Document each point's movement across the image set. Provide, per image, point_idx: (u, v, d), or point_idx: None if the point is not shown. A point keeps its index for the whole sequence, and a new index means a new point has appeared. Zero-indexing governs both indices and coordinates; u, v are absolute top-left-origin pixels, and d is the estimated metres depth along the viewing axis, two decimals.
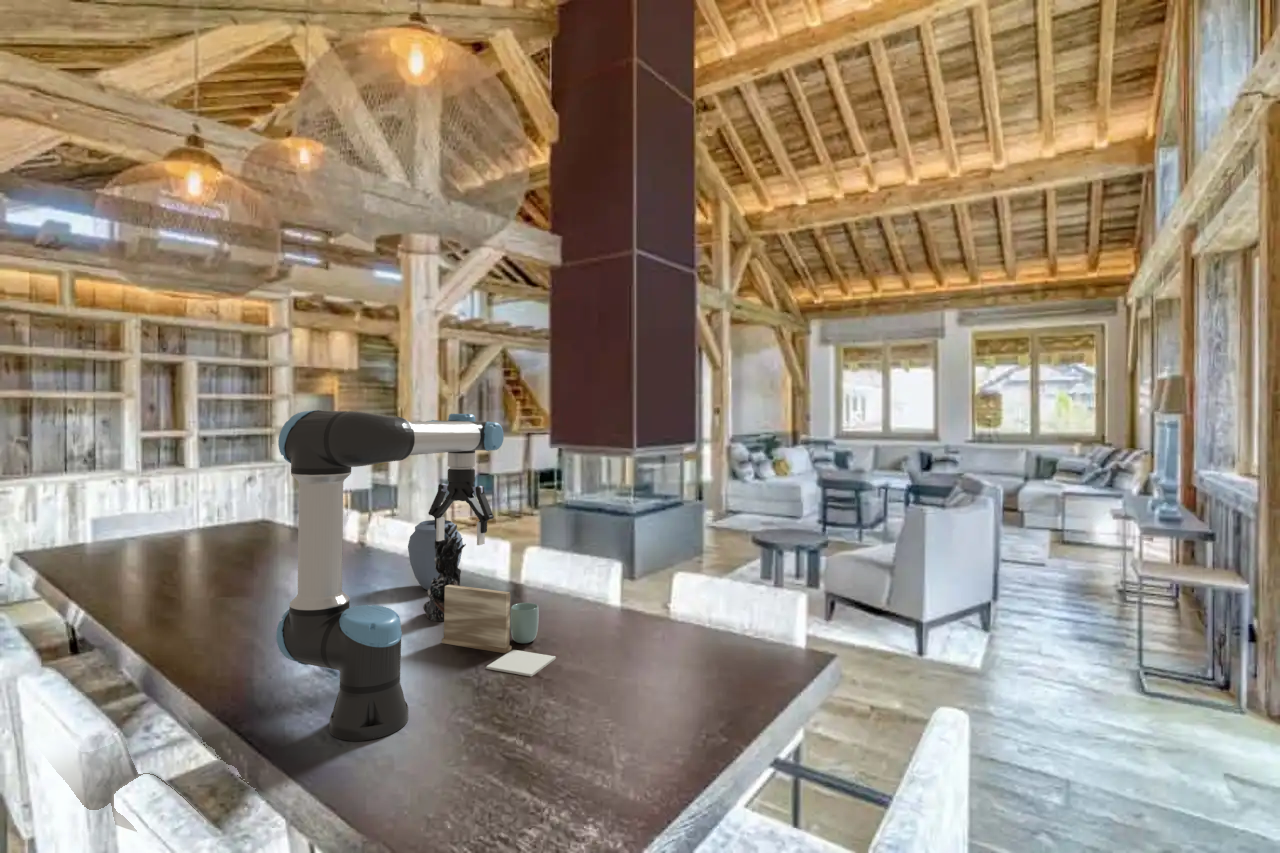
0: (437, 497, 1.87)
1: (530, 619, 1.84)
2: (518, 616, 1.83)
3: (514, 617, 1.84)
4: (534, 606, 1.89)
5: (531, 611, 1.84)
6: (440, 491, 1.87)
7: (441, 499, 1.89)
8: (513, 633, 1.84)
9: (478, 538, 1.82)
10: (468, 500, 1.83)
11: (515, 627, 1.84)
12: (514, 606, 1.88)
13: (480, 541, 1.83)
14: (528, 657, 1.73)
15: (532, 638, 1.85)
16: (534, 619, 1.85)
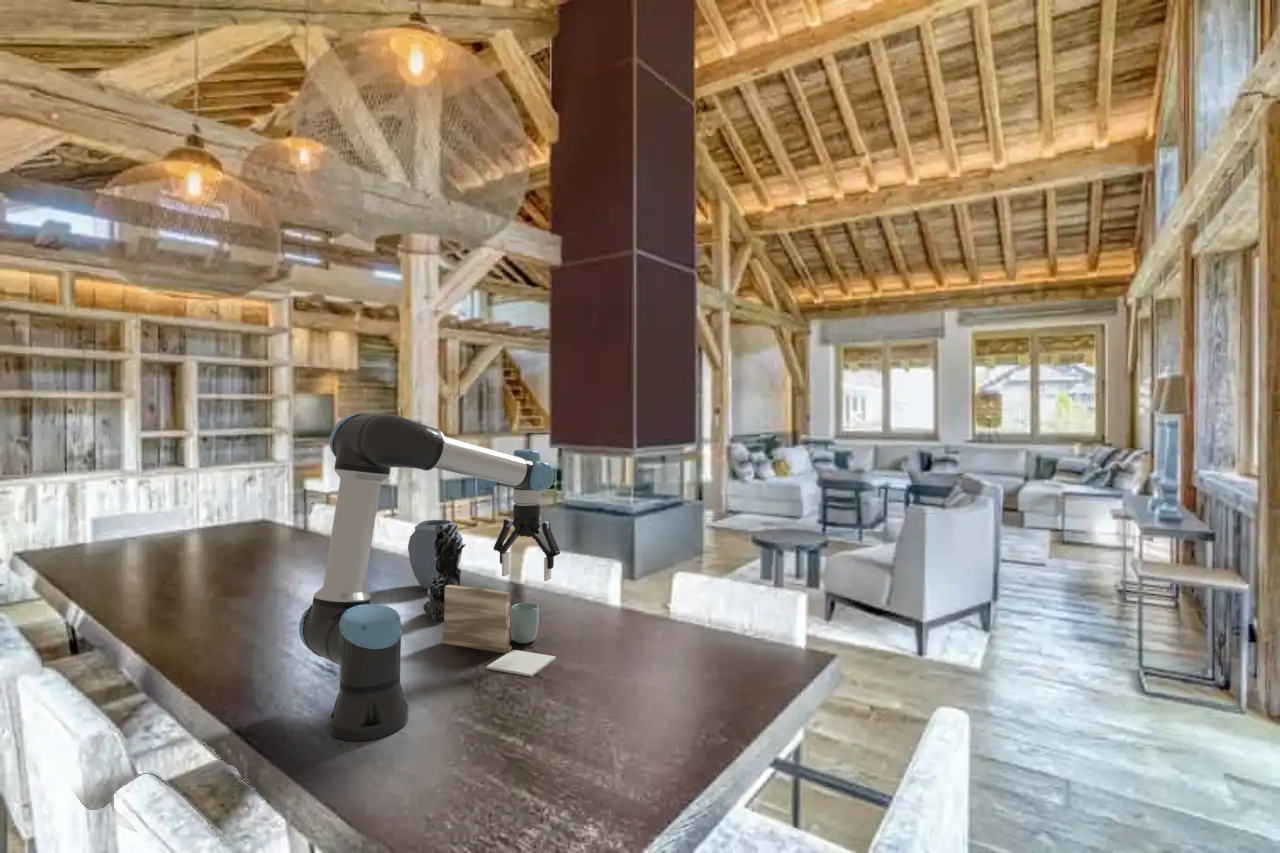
0: (502, 532, 1.88)
1: (530, 619, 1.84)
2: (518, 616, 1.83)
3: (513, 617, 1.84)
4: (534, 606, 1.89)
5: (531, 611, 1.84)
6: (505, 527, 1.88)
7: (506, 534, 1.89)
8: (513, 633, 1.84)
9: (545, 574, 1.83)
10: (534, 536, 1.84)
11: (515, 627, 1.84)
12: (514, 606, 1.88)
13: (547, 577, 1.84)
14: (528, 657, 1.73)
15: (532, 638, 1.85)
16: (534, 620, 1.85)
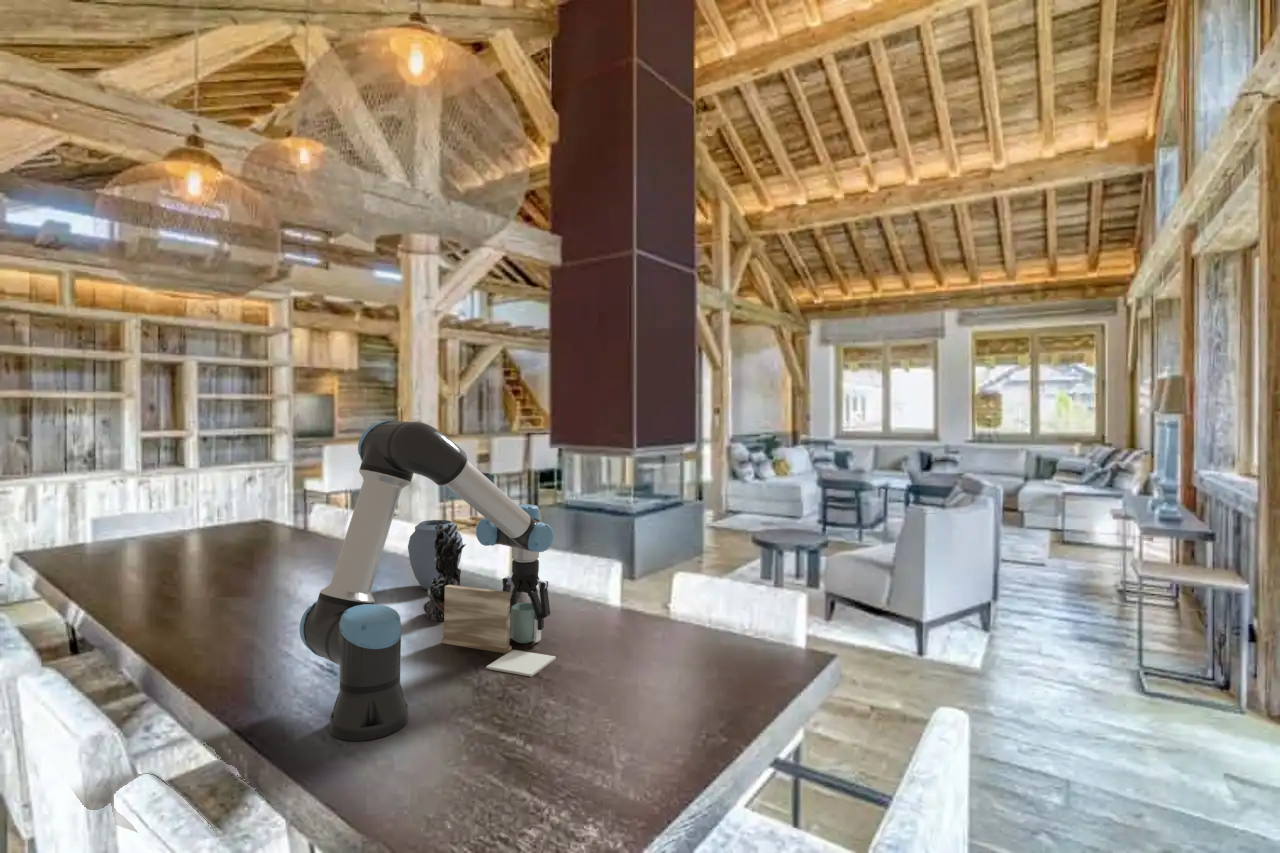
0: None
1: (530, 619, 1.84)
2: (518, 616, 1.83)
3: (514, 617, 1.84)
4: None
5: (531, 611, 1.84)
6: (505, 585, 1.88)
7: None
8: (513, 633, 1.84)
9: (535, 635, 1.84)
10: (530, 594, 1.84)
11: (515, 627, 1.84)
12: (514, 606, 1.88)
13: (537, 638, 1.85)
14: (528, 657, 1.73)
15: (532, 638, 1.85)
16: None
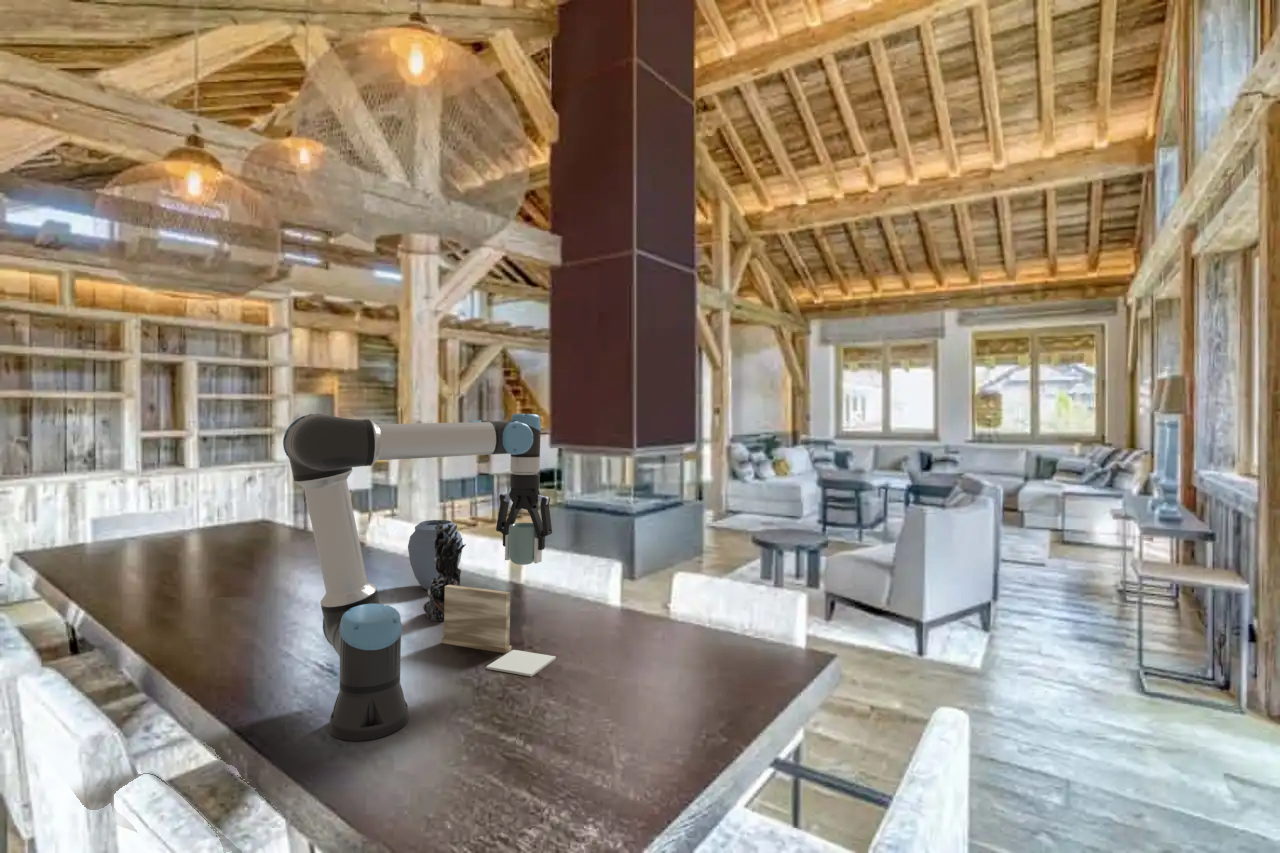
0: (501, 509, 1.71)
1: (530, 537, 1.67)
2: (517, 533, 1.66)
3: (512, 536, 1.67)
4: None
5: (531, 528, 1.67)
6: (503, 502, 1.71)
7: (506, 511, 1.72)
8: (511, 553, 1.67)
9: (535, 555, 1.67)
10: (530, 511, 1.67)
11: (513, 546, 1.67)
12: (512, 525, 1.71)
13: (537, 559, 1.68)
14: (528, 657, 1.73)
15: (532, 559, 1.68)
16: None
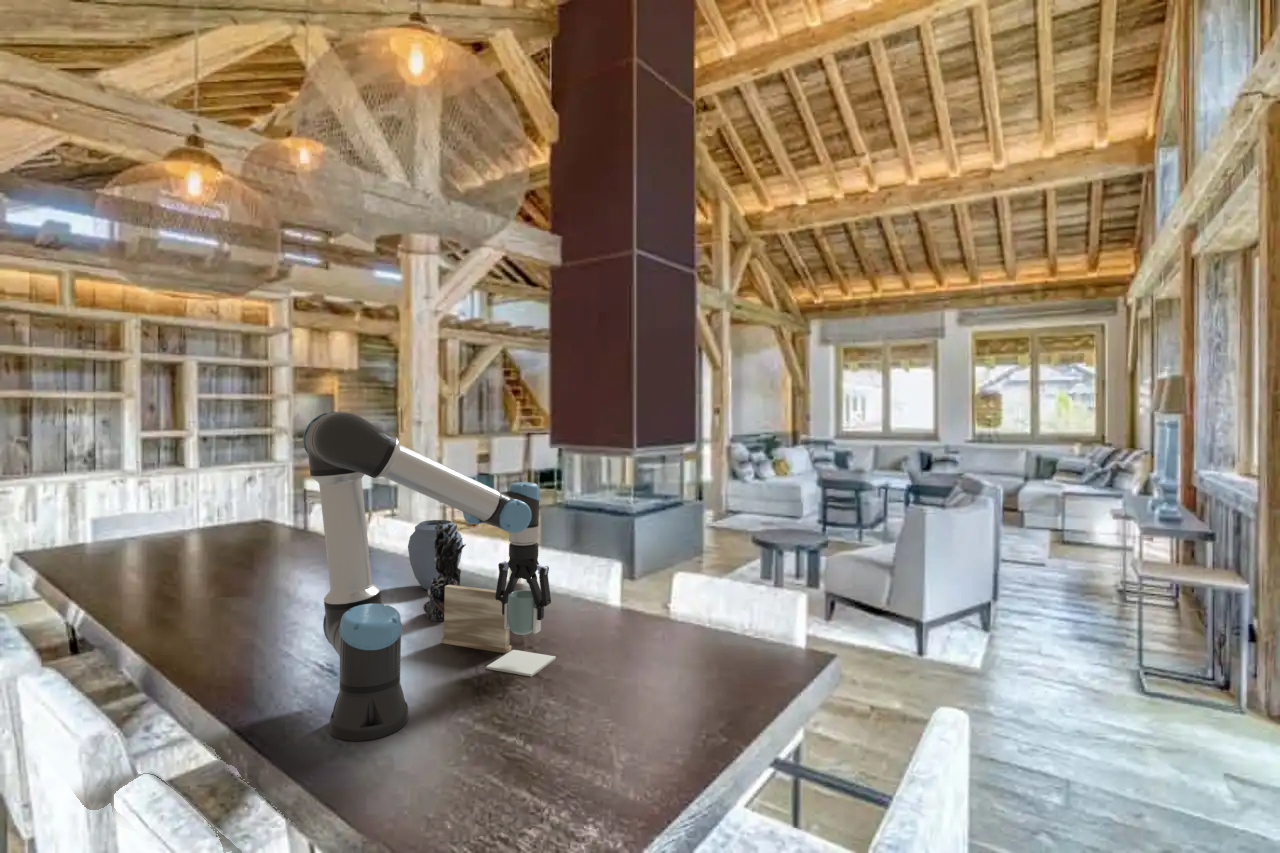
0: (500, 578, 1.71)
1: (529, 607, 1.67)
2: (516, 604, 1.66)
3: (511, 606, 1.67)
4: None
5: (530, 599, 1.67)
6: (502, 571, 1.71)
7: (505, 579, 1.72)
8: (510, 623, 1.67)
9: (534, 626, 1.67)
10: (529, 581, 1.67)
11: (512, 616, 1.67)
12: (511, 594, 1.71)
13: (536, 629, 1.68)
14: (528, 657, 1.73)
15: (531, 629, 1.68)
16: None
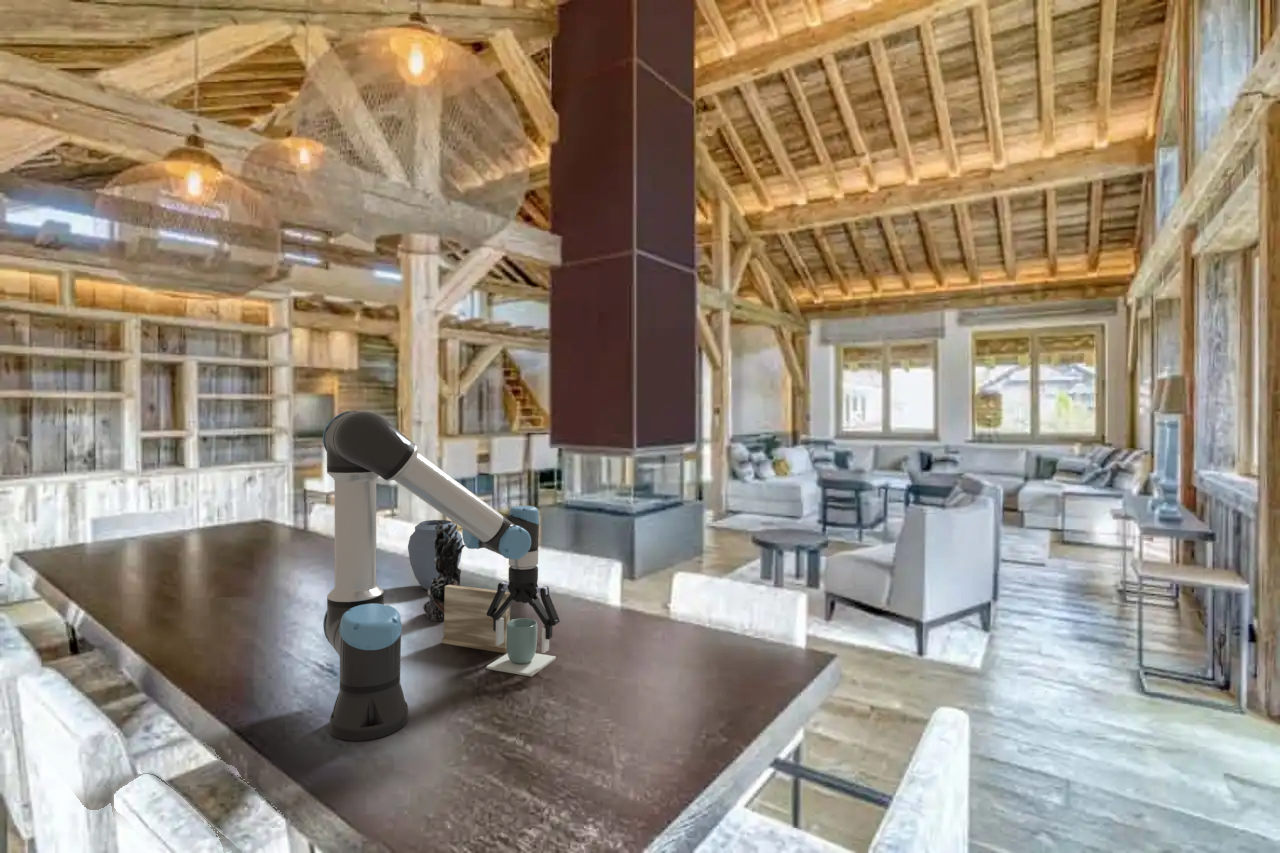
0: (496, 597, 1.71)
1: (528, 637, 1.67)
2: (515, 634, 1.66)
3: (510, 635, 1.67)
4: (532, 622, 1.72)
5: (528, 628, 1.67)
6: (500, 591, 1.71)
7: (500, 598, 1.73)
8: (509, 652, 1.67)
9: (543, 645, 1.66)
10: (532, 603, 1.67)
11: (511, 646, 1.67)
12: (510, 622, 1.71)
13: (545, 648, 1.67)
14: None
15: (530, 658, 1.68)
16: (532, 638, 1.68)
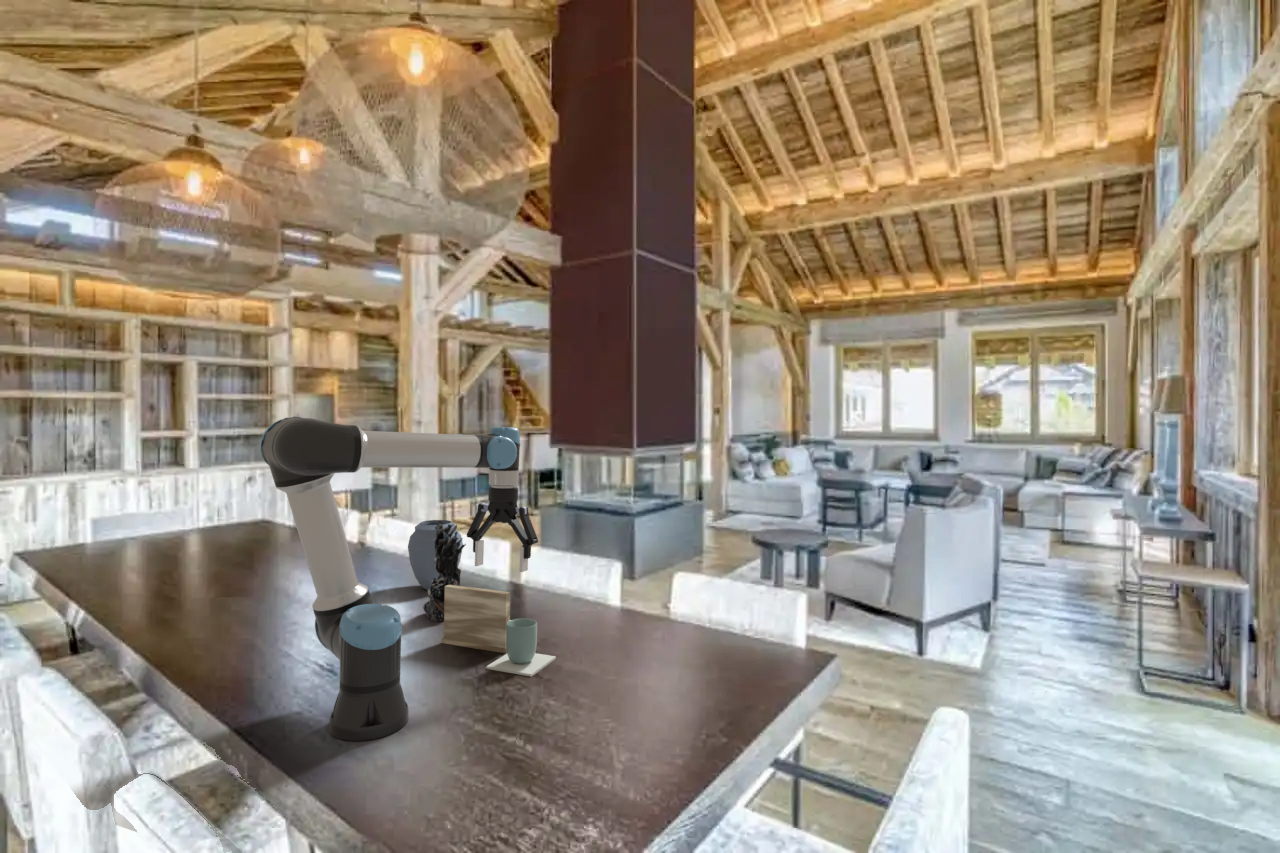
0: (476, 518, 1.71)
1: (528, 637, 1.67)
2: (514, 634, 1.66)
3: (509, 635, 1.67)
4: (532, 622, 1.72)
5: (528, 628, 1.67)
6: (480, 511, 1.71)
7: (480, 520, 1.73)
8: (509, 652, 1.67)
9: (521, 564, 1.66)
10: (510, 522, 1.67)
11: (511, 646, 1.67)
12: (510, 622, 1.71)
13: (523, 567, 1.67)
14: None
15: (530, 658, 1.68)
16: (532, 637, 1.68)
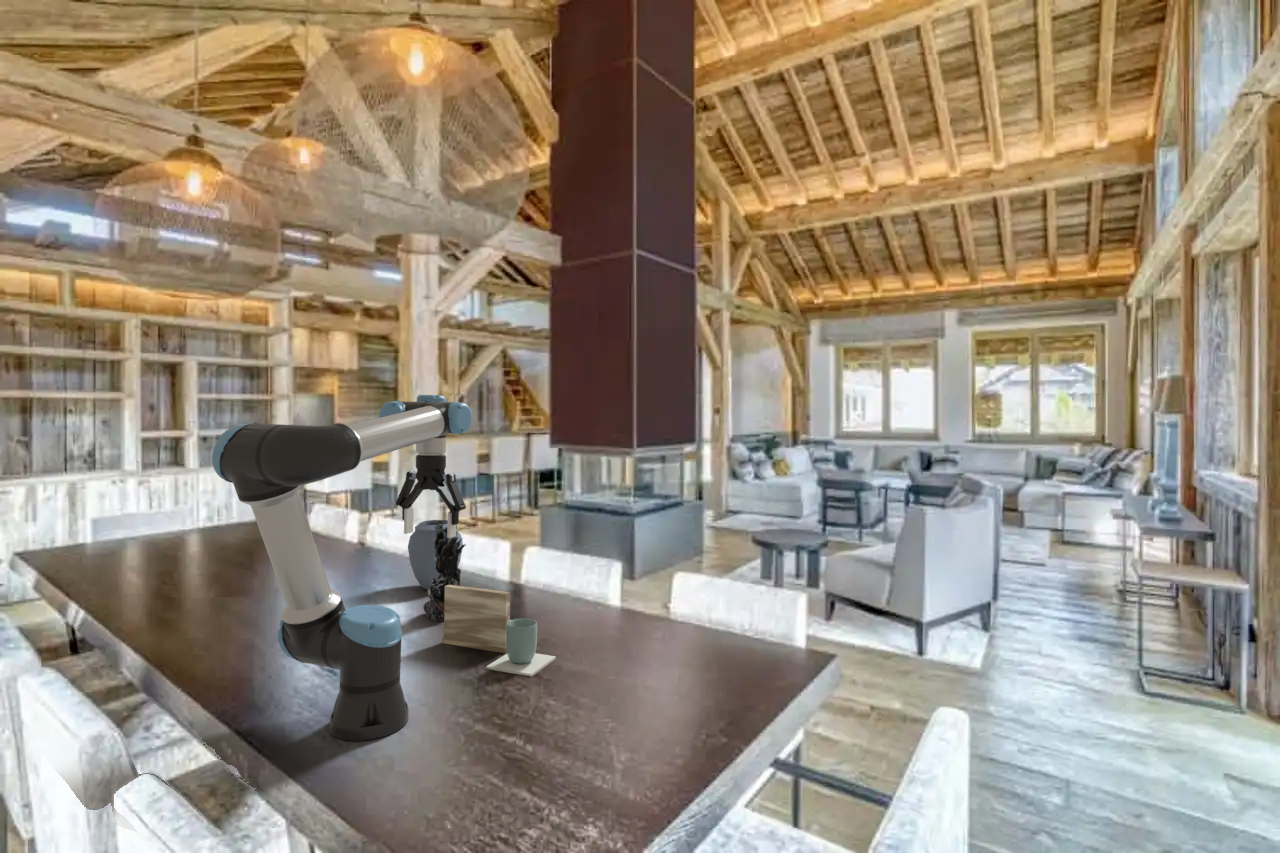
0: (405, 486, 1.72)
1: (528, 637, 1.67)
2: (515, 634, 1.66)
3: (509, 635, 1.67)
4: (532, 622, 1.72)
5: (528, 628, 1.67)
6: (408, 479, 1.72)
7: (409, 488, 1.74)
8: (509, 652, 1.67)
9: (449, 530, 1.68)
10: (438, 489, 1.68)
11: (511, 646, 1.67)
12: (510, 622, 1.71)
13: (451, 533, 1.68)
14: None
15: (530, 658, 1.68)
16: (532, 638, 1.68)
